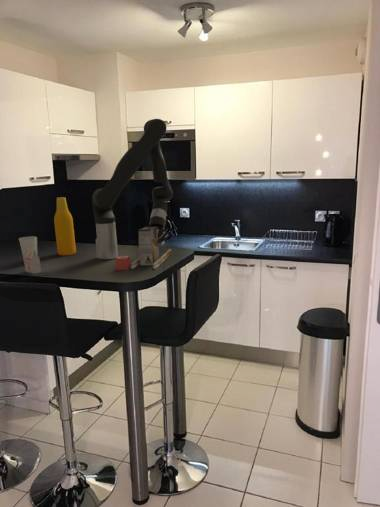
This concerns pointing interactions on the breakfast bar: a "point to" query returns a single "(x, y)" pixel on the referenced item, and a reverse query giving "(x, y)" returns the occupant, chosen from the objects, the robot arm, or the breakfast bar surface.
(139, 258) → the game track
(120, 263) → the red die
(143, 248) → the coffee box
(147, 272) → the breakfast bar surface
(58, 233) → the beer bottle
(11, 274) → the breakfast bar surface
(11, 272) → the breakfast bar surface
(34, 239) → the cup
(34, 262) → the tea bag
